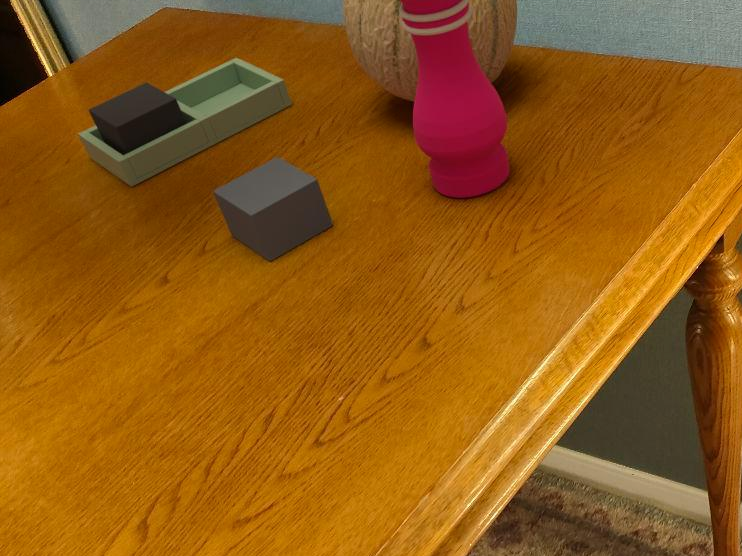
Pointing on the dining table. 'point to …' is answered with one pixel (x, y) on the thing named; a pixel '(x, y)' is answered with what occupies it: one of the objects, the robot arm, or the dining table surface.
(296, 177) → the grey square block
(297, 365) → the dining table surface
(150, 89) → the dark grey block
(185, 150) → the holder
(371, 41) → the cantaloupe
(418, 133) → the pepper mill
